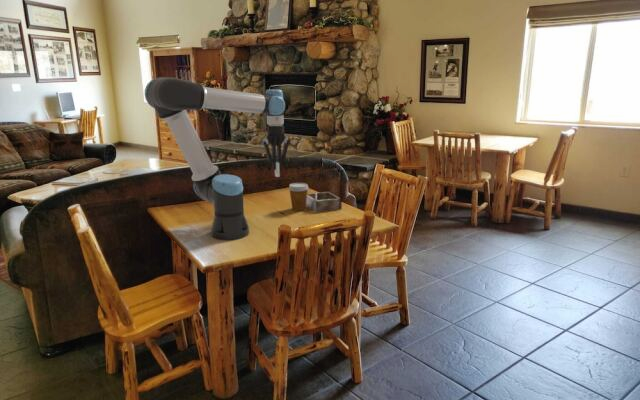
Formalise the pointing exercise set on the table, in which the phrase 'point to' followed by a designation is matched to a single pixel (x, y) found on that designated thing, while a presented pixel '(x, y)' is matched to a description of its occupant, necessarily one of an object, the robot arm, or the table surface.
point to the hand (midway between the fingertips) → (277, 176)
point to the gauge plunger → (311, 202)
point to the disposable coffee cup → (298, 196)
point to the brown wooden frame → (327, 201)
